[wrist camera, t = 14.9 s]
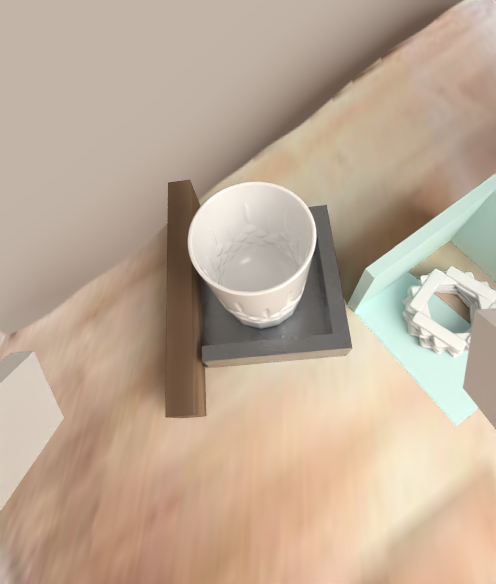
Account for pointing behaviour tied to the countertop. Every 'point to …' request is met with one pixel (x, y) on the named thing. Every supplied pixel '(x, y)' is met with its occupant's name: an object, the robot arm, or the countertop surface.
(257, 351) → the gray square tray
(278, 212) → the white cup
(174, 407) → the brown drawer face panel
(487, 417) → the robot arm
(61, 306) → the countertop surface
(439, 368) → the right angle wall
